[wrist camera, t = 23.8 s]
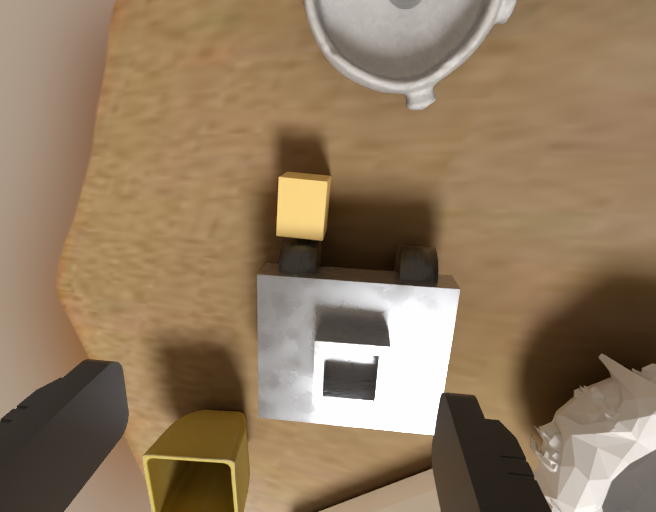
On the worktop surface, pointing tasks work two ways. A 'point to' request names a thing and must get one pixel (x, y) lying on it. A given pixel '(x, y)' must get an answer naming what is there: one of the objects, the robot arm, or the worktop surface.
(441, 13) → the dish
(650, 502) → the bowl
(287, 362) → the dolly
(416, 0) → the pin
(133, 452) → the worktop surface
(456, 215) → the worktop surface
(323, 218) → the pale yellow block
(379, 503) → the white faceted prism
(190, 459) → the flower pot
